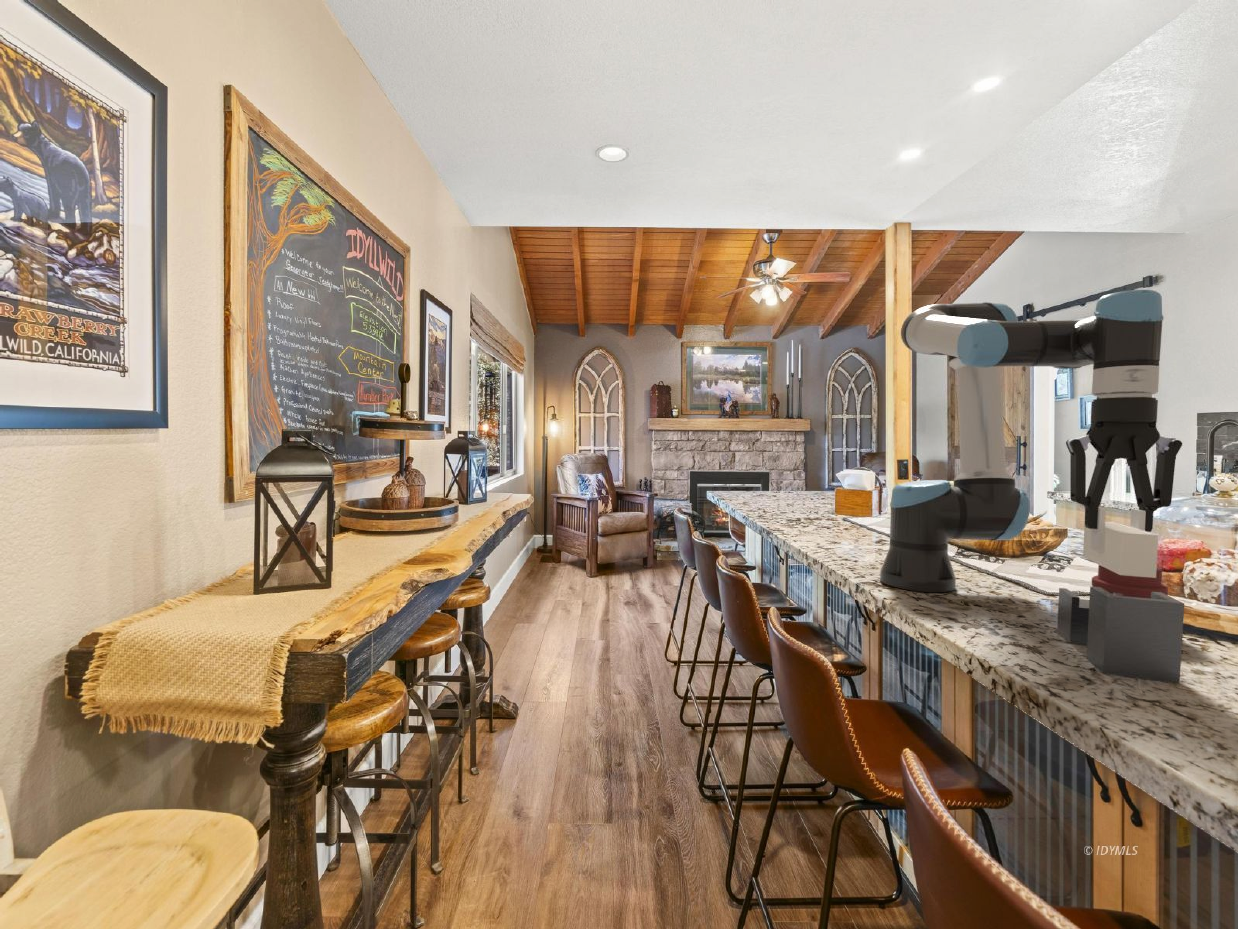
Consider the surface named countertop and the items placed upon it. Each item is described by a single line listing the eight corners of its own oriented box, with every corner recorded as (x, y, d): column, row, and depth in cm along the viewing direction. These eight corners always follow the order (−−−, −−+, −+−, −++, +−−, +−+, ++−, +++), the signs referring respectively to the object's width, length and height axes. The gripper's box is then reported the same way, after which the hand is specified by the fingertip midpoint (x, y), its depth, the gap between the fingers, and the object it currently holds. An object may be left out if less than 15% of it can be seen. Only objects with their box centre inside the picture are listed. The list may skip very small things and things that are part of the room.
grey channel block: (1057, 631, 99) (1059, 587, 99) (1118, 638, 96) (1120, 593, 96) (1069, 643, 93) (1072, 596, 93) (1134, 650, 90) (1137, 602, 90)
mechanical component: (1139, 621, 105) (1180, 639, 96) (1077, 617, 107) (1111, 635, 98) (1143, 554, 105) (1185, 566, 95) (1080, 551, 107) (1115, 562, 97)
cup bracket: (1086, 658, 87) (1090, 586, 86) (1157, 667, 84) (1161, 592, 83) (1103, 673, 81) (1107, 596, 81) (1179, 683, 78) (1184, 603, 78)
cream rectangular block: (1082, 556, 95) (1084, 520, 95) (1113, 558, 93) (1115, 522, 93) (1120, 575, 82) (1122, 533, 82) (1156, 577, 80) (1158, 535, 80)
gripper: (1063, 396, 86) (1056, 551, 87) (1213, 394, 80) (1203, 561, 81) (1047, 399, 93) (1041, 543, 94) (1183, 398, 87) (1175, 552, 88)
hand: (1116, 551), depth 88 cm, fingers closed on cream rectangular block, 4 cm apart
